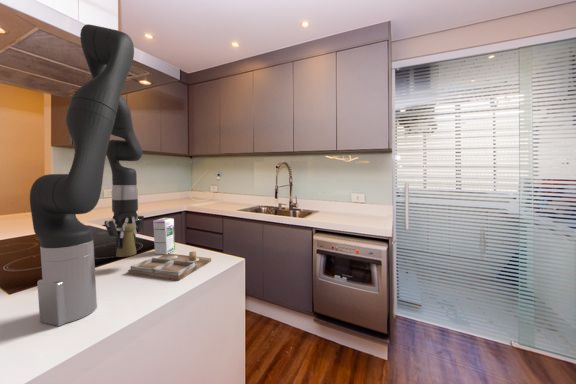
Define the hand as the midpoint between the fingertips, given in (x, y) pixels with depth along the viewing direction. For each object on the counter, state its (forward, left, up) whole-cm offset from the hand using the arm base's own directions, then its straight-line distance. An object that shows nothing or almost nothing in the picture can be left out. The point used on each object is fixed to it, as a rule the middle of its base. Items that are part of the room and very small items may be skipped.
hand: (126, 246), depth 85 cm
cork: (0, 0, -3) cm, 3 cm away
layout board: (+6, -14, -8) cm, 17 cm away
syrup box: (+19, +1, -8) cm, 20 cm away
